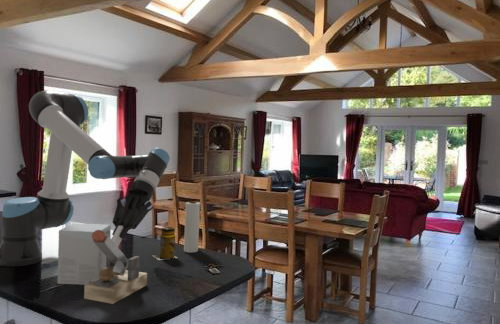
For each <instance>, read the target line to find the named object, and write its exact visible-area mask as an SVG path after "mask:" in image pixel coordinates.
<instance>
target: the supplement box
mask: <svg viewBox="0 0 500 324" xmlns="http://www.w3.org/2000/svg"><path fill="white" fill-rule="evenodd" d="M111 228H112V227H111V224H104V223H103V224H102V223H76V222H74V223H71V224H70V225H67V226H65V227H64V228H61V229H59V230H58V250H57V251H58V257H57V284H58V285H82V286H85V285H86V284H88V283H91V282H93V281H95V280H97V279H100V271H101V270H102V269H103V268H105V267H106V255H105V254H104V253H103V252H102V251H101V250H100V249H99V248H98V247H97V246H96V244H95V243H94V242H93V240H92V234H93V232H94V231H96V230H102V231H103V232H104V233H105V235H106V236H109V237H110V238H111Z"/></svg>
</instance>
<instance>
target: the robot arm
mask: <svg viewBox="0 0 500 324" xmlns="http://www.w3.org/2000/svg"><path fill="white" fill-rule="evenodd" d="M28 111H29V114H30V116H31V117H32V119H33V120H34V121H35V123H37V124H38V125H39V126H40V127H42V128H44V129H45V128H46V129H48V130H49V131H50V137H49V141H48V142H49V143H48V149H47V157H46V164H45V170H44V177H43V185H42V189H41V190H40V191H38V192H37V195H36V196H37V197H35V196H24V197H16V198H11V199H9V200H6V202H4V204H3V207H2V213H1V216H2V224H1V225H2V227H1V228H2V229H1V231H2V233H1V236H2V237H1V243H0V266H1V267H10V268H11V267H12V268H13V267H25V266H30V265H31V266H32V265H34V264H37V263H38V264H39V263H40V262H42V260H43V253H42V250H41V247H40V244H39V241H38V232H39V231H41V230H45V229H53V228H58V227H60V226H64V225H66V224H67V223H69V222H70V221H71V219H72V217H73V215H74V210H75V209H74V205H73V201H72V200H71V199H70V194H68V192H67V185H68V180H69V174H70V172H69V171H70V167H71V162H72V161H71V159H72V153H74V154H76V155H77V157H79V158H80V159H81V160H82V161H83V162H85V164H87V170H88V172H89V174H90V176H91V177H92V178H94V179H97V180H109V179H118V178H131V177H135V180H134V181H133V183H132V184H131V187H130V188H129V192H128V193H127V195H126V196H125V197H124V198H123V199H120V198H117V199H116V204H117V205H116V207H115V211H114V215H113V218H112V224H113V226H115V228H114V230H113V232H112V234H111V235H112V237H111V238H110V239H111V240H112V241H113V242H114V243H115V244H116V246H117V247H118V248H119V245H121V242H122V240H123V239H125V238H126V236H127V234H128V232H129V231H130V230H135V229H137V228H138V226H139V225H140V224H141V222H142V221H143V220H144V219H145V217H146V216H147V214H149V212H150V211H152V210H153V209H154V205H153V204H152V201H150V200H151V199H152V197H153V195H154V193H155V191H156V189H157V188H158V185H159V184H160V181H161V178H162V177H163V174H164V173H165V171H166V169H167V168H168V164H169V162H170V158H171V157H170V155H169V153H168V151H166V150H165V149H163V148H160V147H154V148H152V149H151V150H150V151H149V153H148V154H143V155H112V154H111V153H110V152H108V151H107V150H106V149H105V148H104V147H102V146H101V144H100V143H98V142H97V141H96V140H94V139H93V138H92V137H91V136H90V135H89V134H88V133H87V132H86V131H84V129H82V128H81V125H82V124H85V122H86V121H87V120H88V117H89V107H88V104H87V102H86V101H85V99H84V98H83V97H81V96H79V95H76V94H73V93H67V92H60V91H53V90H41V91H38V92H36V93H35V94H33V96H32V97H31V98H30V101H29V103H28Z"/></svg>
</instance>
